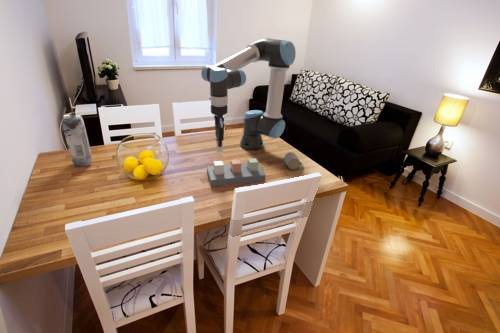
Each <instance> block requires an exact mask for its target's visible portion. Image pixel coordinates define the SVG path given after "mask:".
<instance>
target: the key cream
mask: <svg viewBox="0 0 500 333" xmlns="http://www.w3.org/2000/svg"><path fill="white" fill-rule="evenodd" d="M224 165H225V164H224V161H223V160H217V161H216V160H215V161H213V166H214V175H222V174H224Z"/></svg>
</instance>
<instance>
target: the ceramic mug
mask: <svg viewBox="0 0 500 333" xmlns="http://www.w3.org/2000/svg"><path fill="white" fill-rule="evenodd" d="M283 161H284V163H285V164H286V166H287V167H288V168H289V169H290V170H296V169H298V168H301V169H302V168H303V167H304V164H303V163H302V162H301V161H300V159H299V158H298V156H297V154H296V153H295V152H291V151H289V152H287V153H286V154H285V155H284V157H283Z"/></svg>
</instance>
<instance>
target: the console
mask: <svg viewBox="0 0 500 333" xmlns="http://www.w3.org/2000/svg"><path fill="white" fill-rule="evenodd" d="M247 164H248V162H245V163H241V173H233V174H232V172H231V164H224V174H222V175H214V165H210V166H206V174H207V179H208V182H209V184H210V188H216V186H217V187H225V185H227V186H235V184H237V185H243V184H246V185H247V184H255V183H264V182H266V174H265V172H264V170H263V169H262V167H261V166H260V164H259V163H258V171H255V172H249V171H248V169H247Z"/></svg>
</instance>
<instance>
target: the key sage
mask: <svg viewBox="0 0 500 333" xmlns="http://www.w3.org/2000/svg"><path fill="white" fill-rule="evenodd" d="M247 163H248V164H247V169H248V171H249V172H255V171H258V164H259V161H258V159H257V158H256V157H255V158H253V157H252V158H247Z"/></svg>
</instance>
